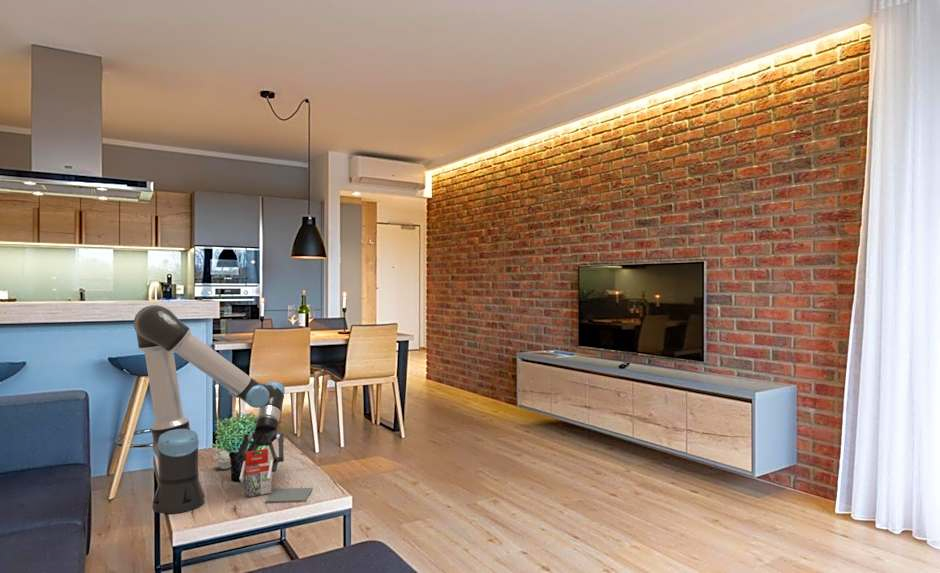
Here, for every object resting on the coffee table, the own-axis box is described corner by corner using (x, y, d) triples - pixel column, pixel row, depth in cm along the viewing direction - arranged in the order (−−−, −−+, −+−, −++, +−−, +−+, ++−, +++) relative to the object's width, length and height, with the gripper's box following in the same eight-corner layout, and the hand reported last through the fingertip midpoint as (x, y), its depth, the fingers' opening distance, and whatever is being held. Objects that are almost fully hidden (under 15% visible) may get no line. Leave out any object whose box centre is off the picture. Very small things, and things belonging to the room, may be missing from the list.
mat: (265, 503, 197) (265, 501, 197) (274, 490, 209) (274, 488, 209) (305, 501, 198) (305, 500, 198) (312, 489, 210) (312, 487, 210)
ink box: (271, 493, 206) (271, 450, 206) (247, 497, 201) (247, 454, 201) (268, 490, 209) (268, 448, 209) (244, 494, 204) (244, 451, 204)
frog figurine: (220, 466, 237) (219, 448, 237) (237, 466, 236) (236, 449, 236) (211, 471, 231) (211, 453, 231) (229, 471, 230) (229, 453, 230)
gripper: (299, 426, 221) (289, 484, 205) (240, 427, 220) (225, 486, 204) (296, 415, 216) (285, 474, 200) (235, 416, 214) (220, 475, 198)
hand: (255, 480), depth 202 cm, fingers closed on ink box, 8 cm apart
